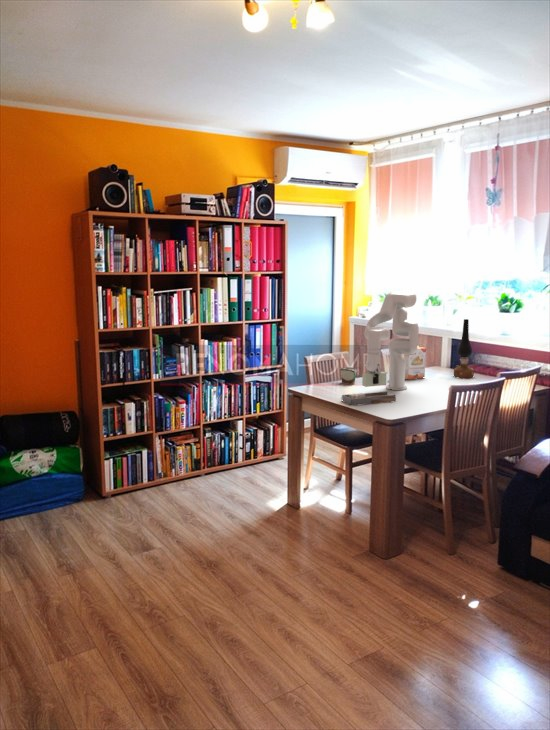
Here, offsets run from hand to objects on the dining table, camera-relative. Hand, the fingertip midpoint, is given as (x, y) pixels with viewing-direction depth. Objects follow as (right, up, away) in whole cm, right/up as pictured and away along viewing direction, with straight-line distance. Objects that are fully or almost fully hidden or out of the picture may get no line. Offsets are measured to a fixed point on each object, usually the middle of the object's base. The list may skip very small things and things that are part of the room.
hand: (373, 382), depth 335 cm
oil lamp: (+73, +2, +70) cm, 101 cm away
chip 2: (-8, -10, -1) cm, 13 cm away
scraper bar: (0, -1, 0) cm, 2 cm away
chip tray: (-10, -11, -2) cm, 15 cm away
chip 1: (-10, -9, -2) cm, 13 cm away
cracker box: (+38, +1, +64) cm, 75 cm away
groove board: (+4, -10, +2) cm, 11 cm away
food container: (-7, -2, +51) cm, 51 cm away
